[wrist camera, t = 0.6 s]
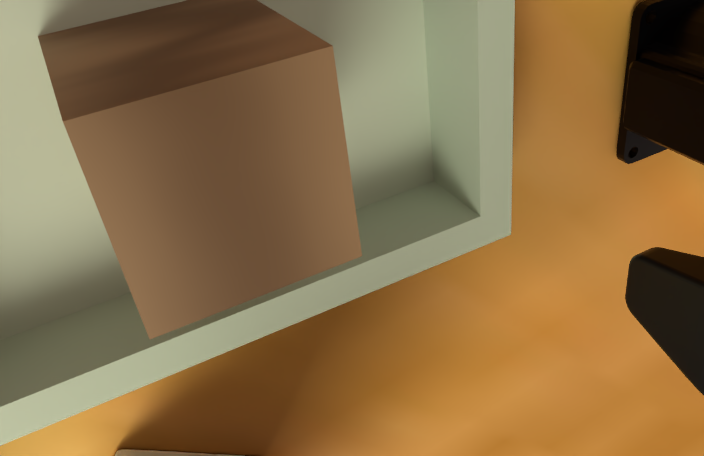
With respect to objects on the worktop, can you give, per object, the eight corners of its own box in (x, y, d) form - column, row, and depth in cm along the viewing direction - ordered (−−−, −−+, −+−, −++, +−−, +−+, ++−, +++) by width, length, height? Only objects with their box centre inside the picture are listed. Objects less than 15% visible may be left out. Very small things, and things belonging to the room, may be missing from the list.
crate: (443, -194, 18) (518, -198, 15) (457, 193, 25) (511, 234, 22) (-409, -50, 12) (-507, -20, 10) (-85, 399, 19) (-95, 484, 17)
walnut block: (237, -12, 17) (332, 45, 13) (273, 158, 20) (362, 256, 15) (37, 36, 16) (62, 121, 11) (106, 212, 18) (150, 339, 14)
